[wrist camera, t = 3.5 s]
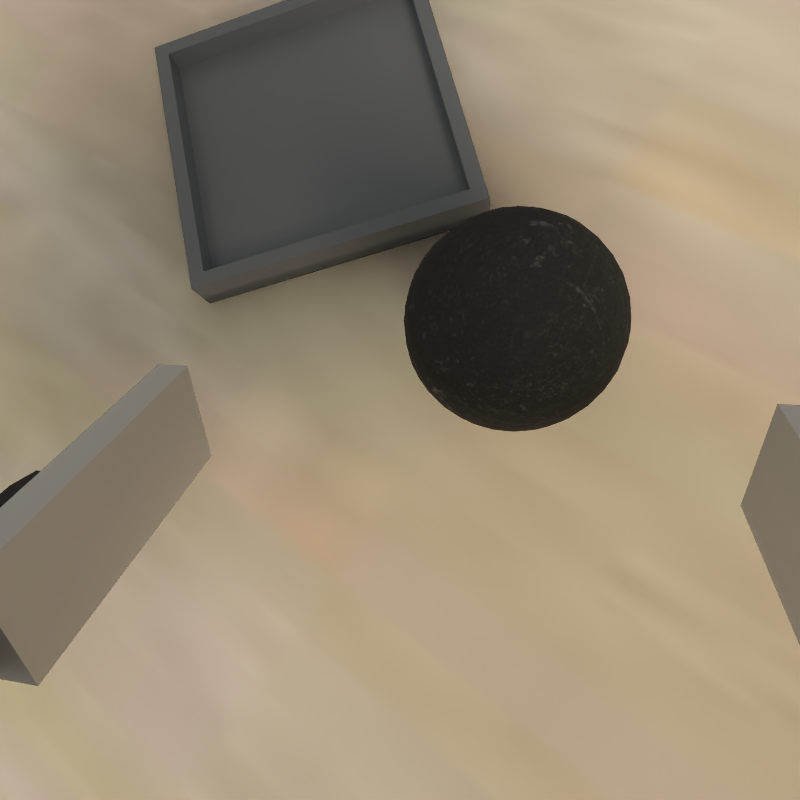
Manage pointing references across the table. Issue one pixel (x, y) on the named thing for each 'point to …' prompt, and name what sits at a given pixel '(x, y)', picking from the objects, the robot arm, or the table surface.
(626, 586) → the table surface
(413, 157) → the tray
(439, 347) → the light bulb
